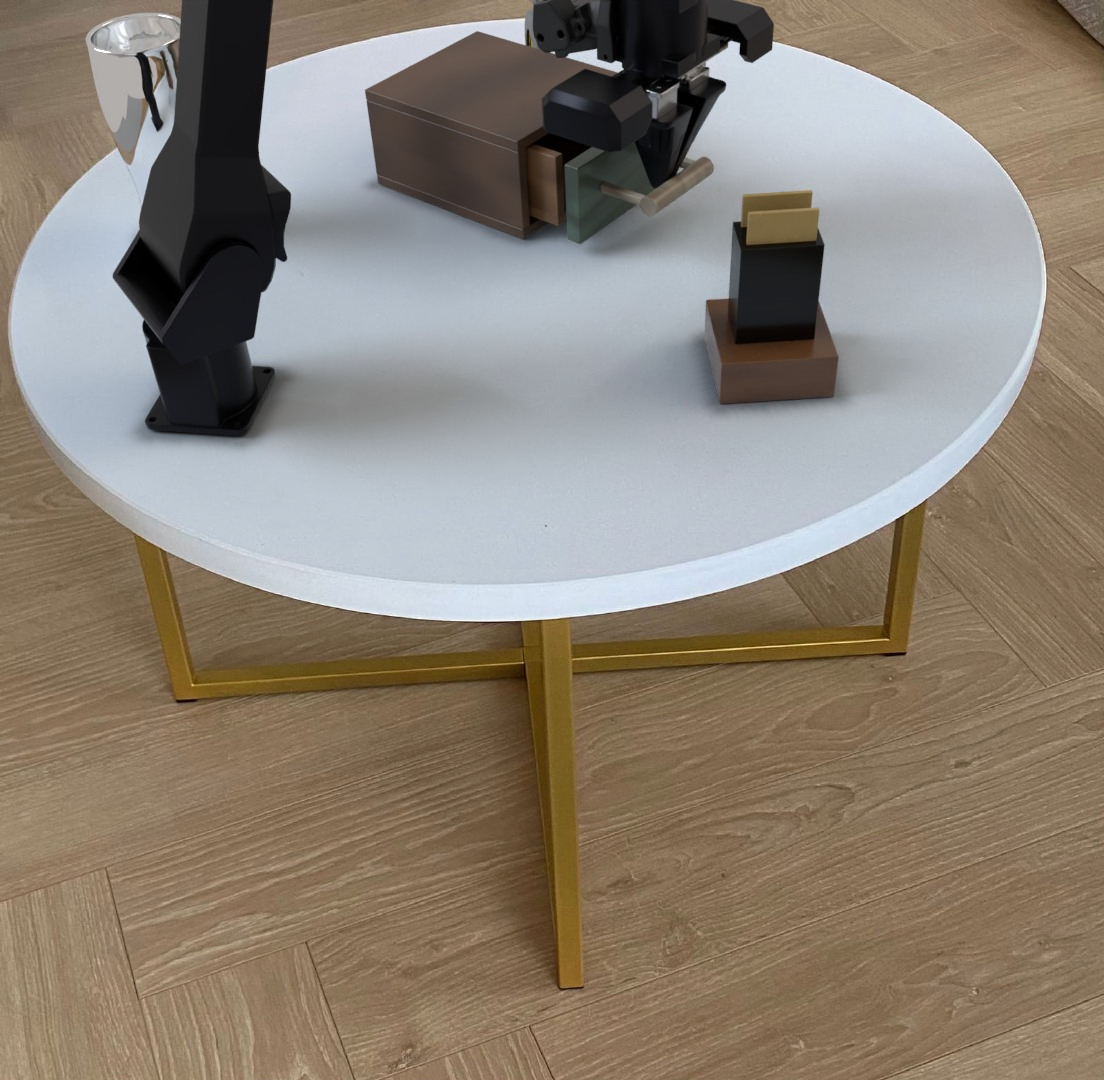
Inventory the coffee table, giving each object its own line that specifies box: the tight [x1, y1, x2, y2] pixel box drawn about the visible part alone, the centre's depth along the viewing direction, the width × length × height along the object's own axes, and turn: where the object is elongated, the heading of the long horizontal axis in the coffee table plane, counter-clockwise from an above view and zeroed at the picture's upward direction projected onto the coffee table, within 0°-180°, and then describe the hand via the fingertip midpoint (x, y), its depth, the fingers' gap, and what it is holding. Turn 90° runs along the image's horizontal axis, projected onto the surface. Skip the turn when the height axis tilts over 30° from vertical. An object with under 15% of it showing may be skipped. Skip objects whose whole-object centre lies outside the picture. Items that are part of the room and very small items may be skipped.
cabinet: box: [364, 30, 618, 240], centre depth 102 cm, size 15×13×8 cm
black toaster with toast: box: [728, 189, 825, 344], centre depth 80 cm, size 3×5×8 cm
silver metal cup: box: [85, 12, 181, 209], centre depth 95 cm, size 7×7×15 cm
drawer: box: [525, 133, 715, 245], centre depth 98 cm, size 18×11×6 cm, turn 51°
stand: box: [703, 297, 839, 405], centre depth 84 cm, size 7×7×3 cm
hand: (660, 186), depth 95 cm, fingers closed, pressing on drawer
